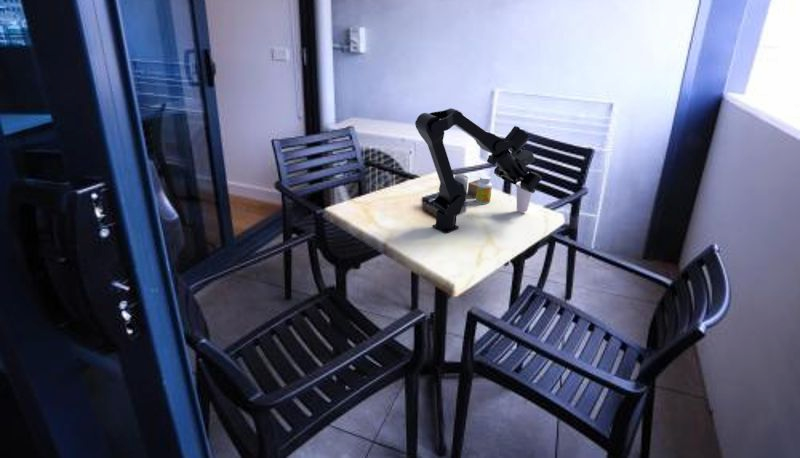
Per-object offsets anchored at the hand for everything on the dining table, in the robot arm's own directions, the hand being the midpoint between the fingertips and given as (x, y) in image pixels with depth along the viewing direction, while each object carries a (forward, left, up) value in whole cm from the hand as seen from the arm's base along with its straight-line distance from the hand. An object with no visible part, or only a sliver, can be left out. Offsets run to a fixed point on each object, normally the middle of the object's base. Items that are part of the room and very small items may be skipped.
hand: (527, 188), depth 166 cm
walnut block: (0, +22, -9) cm, 23 cm away
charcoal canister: (-7, +25, -9) cm, 27 cm away
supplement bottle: (-4, +16, -9) cm, 18 cm away
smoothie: (-1, 0, -8) cm, 8 cm away
